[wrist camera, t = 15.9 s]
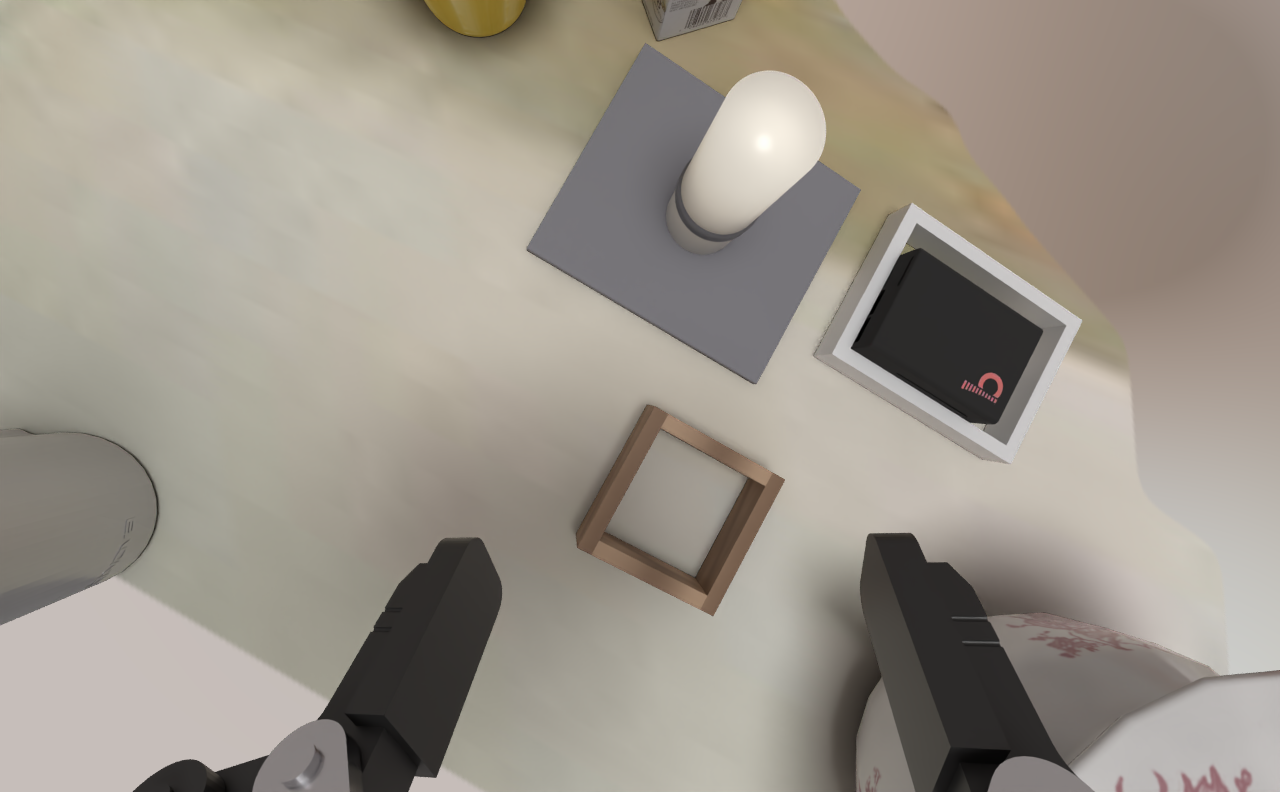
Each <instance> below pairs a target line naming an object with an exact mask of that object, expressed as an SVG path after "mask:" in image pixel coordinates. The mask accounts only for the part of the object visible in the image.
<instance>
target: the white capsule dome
mask: <svg viewBox="0 0 1280 792" xmlns="http://www.w3.org/2000/svg"><path fill="white" fill-rule="evenodd" d="M825 140H826V123H825V117H824V114H823V110H822V108H821V106H820V103H819V102H818V100H817V98H816V97H815V95H814V94H813V93H812V91H811V90H810V89H809V88H808V87H807V86H806V85H805V84H804V83H802V82H801V81H800V80H798V79H797V78H795V77H793V76H791V75H789V74H786V73H783V72H778V71H760V72H756V73H753V74H750V75H748V76H746V77H744V78H743V79H741V80H740V81H739V82H737V83H736V84H735V85H734V86H733V88H732V89H731V90H730V91H729V93H728V94H727V96H726V98H725V100H724V102H723V103H722V105H721V107H720V109H719V111H718V113H717V114H716V116H715V118H714V120H713V122H712V124H711V125H710V127H709V129H708V131H707V133H706V134H705V136H704V138H703V140H702V142H701V144H700V145H699V147H698V149H697V151H696V153H695V155H694V156H693V158H692V159H691V160H690V161H689V162H688V163H687V165H686V166H685V168H684V169H683V171H682V173H681V175H680V177H679V179H678V182H677V185H676V189H675V191H674V193H673V195H672V197H671V199H670V201H669V203H668V206H667V210H666V222H667V227H668V230H669V232H670V234H671V236H672V238H673V239H674V240H675V242H676V243H677V244H678V245H679V246H681V247H682V248H683V249H685V250H687V251H689V252H691V253H695V254H700V255H707V254H712V253H715V252H717V251H719V250H721V249H723V248H724V247H725V246H726V245H727V244H728V243H730V242H731V241H732V240H733V239H735V238H737V237H739V236H740V235H742V234H743V233H744V232H745V231H747V230H748V229H749V228H750V227H751V226H752V225H753V224H754V223H755V222H756V220H757V219H758V217H759V216H760V215H761V214H762V213H763V212H764V211H765V210H766V209H767V208H769V207H770V206H771V205H772V204H773V203H774V202H775V201H776V200H777V199H779V198H780V197H781V196H782V195H783V194H784V193H785V192H786V191H788V190H789V189H790V188H791V187H792V186H793V185H794V184H795V183H796V182H798V181H799V180H800V179H801V178H802V177H803V176H804V175H805V174H806V173H808V172H809V171H810V170H811V169H812V168H813V167H814V165H815V164H816V163H817V161H818V160H819V158H820V156H821V154H822V151H823V148H824V145H825Z"/></svg>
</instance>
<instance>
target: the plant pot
mask: <svg viewBox="0 0 1280 792" xmlns="http://www.w3.org/2000/svg"><path fill="white" fill-rule="evenodd" d="M424 1H425V2H426V4H427V5H428V7H429V8H430V10H431V11H432V12H433V13H434V15H435V16H436V17H437V18H438V19H439V20H440V21H441V22H442V23H443V24H445V25H446V26H447V27H449V28H450V29H452V30H454V31H456V32H458V33H461V34H464V35H467V36H474V37H485V36H491V35H494V34H497V33H500V32H502V31H504V30H505V29H507V28H508V27H510V26H511V25H512V24H513V23H514V22H515V21H516V20H517V18H518V17H519V16H520V14H521V12H522V10H523V8H524V6H525V2H526V0H424Z"/></svg>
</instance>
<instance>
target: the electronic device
mask: <svg viewBox="0 0 1280 792" xmlns="http://www.w3.org/2000/svg"><path fill="white" fill-rule="evenodd" d="M1042 334H1043V329H1041V328H1040V327H1038V326H1037V325H1035V324H1034V323H1032V322H1031V321H1029V320H1028V319H1026V318H1025V317H1023V316H1022V315H1020V314H1019V313H1017V312H1016V311H1014V310H1013V309H1011V308H1010V307H1008V306H1007V305H1005V304H1004V303H1002V302H1001V301H999V300H998V299H996V298H995V297H993V296H992V295H990V294H989V293H988V292H986V291H985V290H983V289H982V288H980V287H979V286H977V285H976V284H974V283H973V282H971V281H970V280H968V279H967V278H965V277H964V276H962V275H961V274H959V273H958V272H956V271H955V270H953V269H952V268H950V267H949V266H947V265H946V264H944V263H943V262H941V261H940V260H938V259H937V258H935V257H934V256H932V255H931V254H929V253H928V252H927V251H925V250H924V249H922V248H918V249H916V250H913V251H910V252H908V253H905V254H903V255H900V256H899V258H898V259H897V261H896V263H895V265H894V267H893V269H892V271H891V273H890V275H889V276H888V278H887V280H886V282H885V284H884V286H883V288H882V290H881V292H880V294H879V295H878V297H877V299H876V301H875V303H874V305H873V307H872V309H871V311H870V312H869V314H868V316H867V318H866V320H865V322H864V324H863V326H862V328H861V329H860V331H859V333H858V335H857V337H856V339H855V341H854V343H853V345H852V347H851V349H852V350H854V351H855V352H857V353H859V354H860V355H862V356H863V357H865V358H867V359H868V360H870V361H871V362H873V363H875V364H876V365H878V366H879V367H881V368H883V369H884V370H886V371H887V372H889V373H891V374H892V375H894V376H895V377H897V378H899V379H900V380H902V381H904V382H905V383H907V384H908V385H910V386H912V387H913V388H915V389H916V390H918V391H920V392H921V393H923V394H924V395H926V396H928V397H929V398H931V399H932V400H934V401H936V402H937V403H939V404H940V405H942V406H944V407H945V408H947V409H948V410H950V411H952V412H953V413H955V414H957V415H958V416H960V417H961V418H963V419H965V420H966V421H968V422H970V423H981V424H992V425H993V424H996V423H998V421H999V420H1000V418H1001V416H1002V414H1003V412H1004V410H1005V408H1006V406H1007V404H1008V402H1009V400H1010V398H1011V396H1012V394H1013V392H1014V390H1015V388H1016V386H1017V384H1018V382H1019V380H1020V378H1021V376H1022V374H1023V372H1024V370H1025V368H1026V366H1027V364H1028V362H1029V360H1030V358H1031V356H1032V354H1033V352H1034V350H1035V348H1036V346H1037V344H1038V342H1039V340H1040V338H1041V336H1042Z"/></svg>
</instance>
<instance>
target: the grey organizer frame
mask: <svg viewBox="0 0 1280 792" xmlns="http://www.w3.org/2000/svg"><path fill="white" fill-rule="evenodd" d="M906 243H908V244H909V245H911V246H912V247H913V248H915V249H918V248H922V249H924V250H925V251H927V252H928V253H929V254H931V255H932V256H934V257H935V258H937V259H938V260H940V261H941V262H943V263H944V264H946V265H947V266H949V267H950V268H952V269H953V270H955V271H956V272H958V273H959V274H961V275H962V276H964V277H965V278H967V279H968V280H970V281H971V282H973V283H974V284H976V285H977V286H979V287H980V288H982V289H983V290H985V291H986V292H988V293H989V294H990V295H992V296H993V297H995V298H996V299H998V300H999V301H1001V302H1002V303H1004V304H1005V305H1007V306H1008V307H1010V308H1011V309H1013V310H1014V311H1016V312H1017V313H1019V314H1020V315H1022V316H1023V317H1025V318H1026V319H1028V320H1029V321H1031V322H1032V323H1034V324H1035V325H1037V326H1038V327H1040V328H1041V329H1043V334H1042V336H1041V338H1040V340H1039V342H1038V344H1037V346H1036V348H1035V350H1034V352H1033V354H1032V356H1031V358H1030V360H1029V362H1028V364H1027V366H1026V368H1025V370H1024V372H1023V374H1022V376H1021V378H1020V380H1019V382H1018V384H1017V386H1016V388H1015V390H1014V392H1013V394H1012V396H1011V398H1010V400H1009V402H1008V404H1007V406H1006V408H1005V410H1004V412H1003V414H1002V416H1001V418H1000V420H999V421H998V423H996V424H993V425H992V424H987V425H986V427H985V429H984V431H982V430H981V429H979V428H977V427H976V426H974V425H973V424H971V423H969V422H968V421H966V420H965V419H963V418H961V417H960V416H958V415H957V414H955V413H953V412H952V411H950V410H948V409H947V408H945V407H944V406H942V405H940V404H939V403H937V402H936V401H934V400H932V399H931V398H929V397H928V396H926V395H924V394H923V393H921V392H920V391H918V390H916V389H915V388H913V387H912V386H910V385H908V384H907V383H905V382H904V381H902V380H900V379H899V378H897V377H895V376H894V375H892V374H891V373H889V372H887V371H886V370H884V369H883V368H881V367H879V366H878V365H876V364H875V363H873V362H871V361H870V360H868V359H867V358H865V357H863V356H862V355H860V354H859V353H857V352H855V351H854V350H852V349H851V347H852V345H853V343H854V341H855V339H856V337H857V335H858V333H859V331H860V329H861V328H862V326H863V324H864V322H865V320H866V318H867V316H868V314H869V312H870V311H871V309H872V307H873V305H874V303H875V301H876V299H877V297H878V295H879V294H880V292H881V290H882V288H883V286H884V284H885V282H886V280H887V278H888V276H889V275H890V273H891V271H892V269H893V267H894V265H895V263H896V261H897V259H898V258H899V256H900V254H901V252H902V250H903V248H904V246H905V244H906ZM1082 321H1083V320H1081V319H1080V318H1078V317H1077V316H1075V315H1074V314H1072V313H1071V312H1070V311H1068V310H1067V309H1065V308H1064V307H1062V306H1061V305H1059V304H1058V303H1056V302H1055V301H1054V300H1052V299H1051V298H1049V297H1048V296H1046V295H1045V294H1043V293H1042V292H1041V291H1039V290H1038V289H1036V288H1035V287H1033V286H1032V285H1030V284H1029V283H1027V282H1026V281H1025V280H1023V279H1022V278H1020V277H1019V276H1017V275H1016V274H1014V273H1013V272H1012V271H1010V270H1009V269H1007V268H1006V267H1004V266H1003V265H1001V264H1000V263H998V262H997V261H996V260H994V259H993V258H991V257H990V256H988V255H987V254H985V253H984V252H983V251H981V250H980V249H978V248H977V247H975V246H974V245H972V244H971V243H969V242H968V241H967V240H965V239H964V238H962V237H961V236H959V235H958V234H956V233H955V232H954V231H952V230H951V229H949V228H948V227H946V226H945V225H943V224H942V223H940V222H939V221H938V220H936V219H935V218H933V217H932V216H930V215H929V214H927V213H926V212H924V211H923V210H922V209H920V208H919V207H917V206H916V205H914V204H913V203H911V204H909V205H907V206H905V207H903V208H901V209H899V210H897V211H895V212H894V213H892V214H890V215H888V217H887V219H886V221H885V223H884V225H883V227H882V228H881V230H880V232H879V234H878V236H877V238H876V240H875V242H874V243H873V245H872V247H871V249H870V251H869V253H868V255H867V257H866V259H865V260H864V262H863V264H862V266H861V268H860V270H859V272H858V274H857V275H856V277H855V279H854V281H853V283H852V285H851V287H850V289H849V290H848V292H847V294H846V296H845V298H844V300H843V302H842V304H841V305H840V307H839V309H838V311H837V313H836V315H835V317H834V319H833V320H832V322H831V324H830V326H829V328H828V330H827V332H826V334H825V336H824V337H823V339H822V341H821V343H820V345H819V347H818V349H817V351H816V352H815V354H814V357H816V358H817V359H819V360H821V361H822V362H824V363H826V364H827V365H829V366H830V367H832V368H834V369H835V370H837V371H839V372H840V373H842V374H844V375H845V376H847V377H848V378H850V379H852V380H853V381H855V382H857V383H858V384H860V385H862V386H863V387H865V388H866V389H868V390H870V391H871V392H873V393H875V394H876V395H878V396H879V397H881V398H883V399H884V400H886V401H888V402H889V403H891V404H893V405H894V406H896V407H897V408H899V409H901V410H902V411H904V412H906V413H907V414H909V415H911V416H912V417H914V418H915V419H917V420H919V421H920V422H922V423H924V424H925V425H927V426H929V427H930V428H932V429H933V430H935V431H937V432H938V433H940V434H942V435H943V436H945V437H947V438H948V439H950V440H951V441H953V442H955V443H956V444H958V445H960V446H961V447H963V448H964V449H966V450H968V451H969V452H971V453H973V454H974V455H976V456H978V457H979V458H981V459H983V460H989V461H995V462H1000V463H1006V464H1011V463H1012V461H1013V459H1014V457H1015V455H1016V453H1017V451H1018V449H1019V447H1020V445H1021V443H1022V441H1023V439H1024V437H1025V435H1026V433H1027V431H1028V429H1029V427H1030V425H1031V423H1032V421H1033V419H1034V417H1035V415H1036V413H1037V411H1038V409H1039V407H1040V405H1041V403H1042V401H1043V399H1044V397H1045V395H1046V393H1047V391H1048V389H1049V387H1050V385H1051V383H1052V381H1053V379H1054V377H1055V375H1056V373H1057V371H1058V369H1059V367H1060V365H1061V363H1062V361H1063V359H1064V357H1065V355H1066V353H1067V351H1068V349H1069V347H1070V345H1071V343H1072V341H1073V339H1074V337H1075V335H1076V333H1077V331H1078V329H1079V327H1080V325H1081V323H1082Z"/></svg>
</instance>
